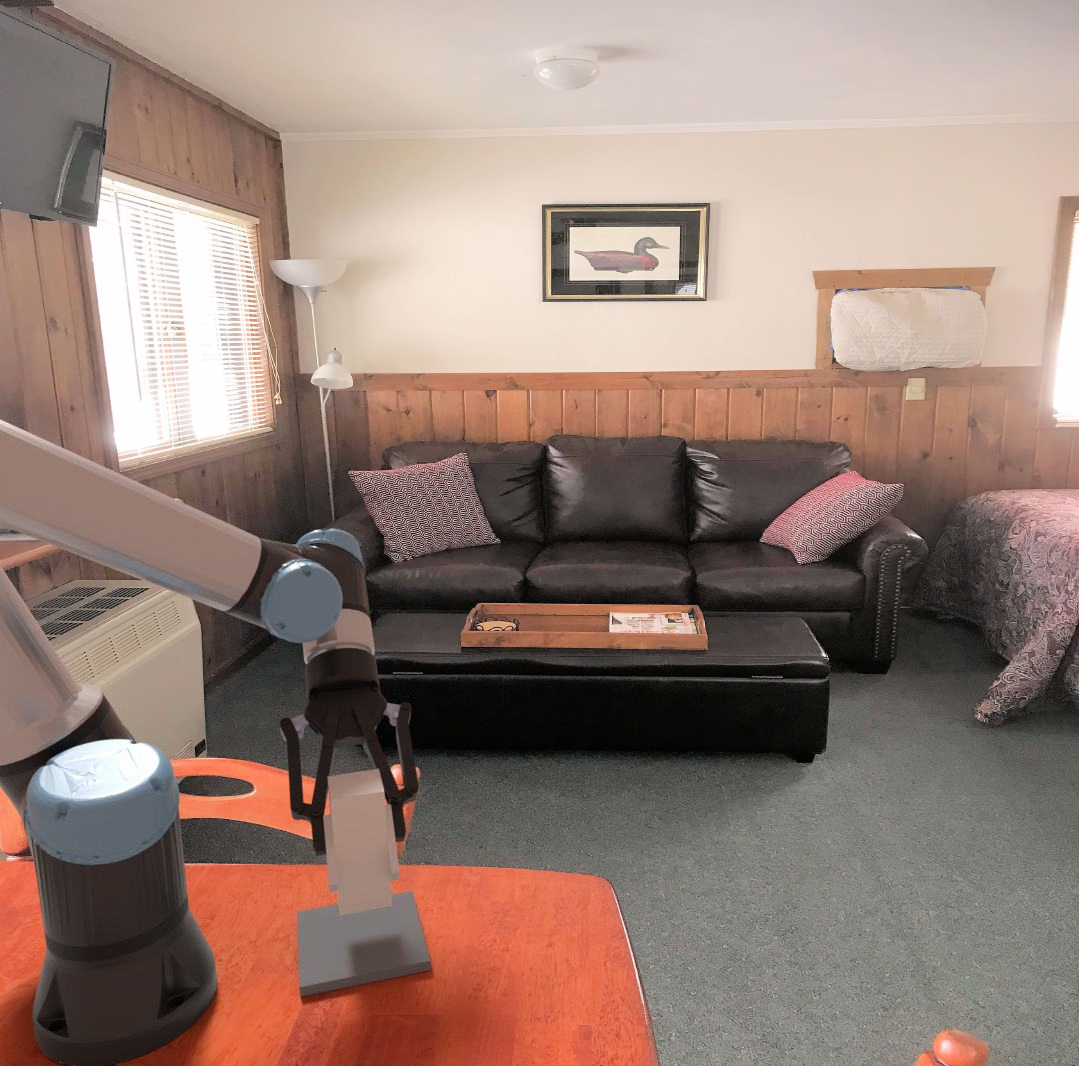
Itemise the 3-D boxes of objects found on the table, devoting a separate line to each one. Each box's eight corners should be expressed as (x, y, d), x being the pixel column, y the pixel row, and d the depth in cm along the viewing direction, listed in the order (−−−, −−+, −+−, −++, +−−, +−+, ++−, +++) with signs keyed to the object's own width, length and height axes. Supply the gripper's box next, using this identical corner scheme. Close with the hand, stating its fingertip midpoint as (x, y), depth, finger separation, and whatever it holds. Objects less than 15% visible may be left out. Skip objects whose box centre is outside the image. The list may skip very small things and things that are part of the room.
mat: (300, 997, 82) (299, 987, 81) (297, 920, 93) (296, 911, 93) (430, 970, 85) (430, 960, 85) (412, 899, 96) (412, 890, 96)
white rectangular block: (339, 915, 85) (330, 800, 83) (336, 886, 90) (327, 776, 88) (392, 905, 87) (384, 791, 84) (386, 877, 91) (378, 768, 89)
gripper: (421, 666, 102) (455, 875, 89) (255, 686, 97) (267, 910, 85) (426, 635, 96) (463, 854, 83) (249, 655, 91) (261, 891, 79)
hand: (364, 882), depth 84 cm, fingers closed on white rectangular block, 5 cm apart
